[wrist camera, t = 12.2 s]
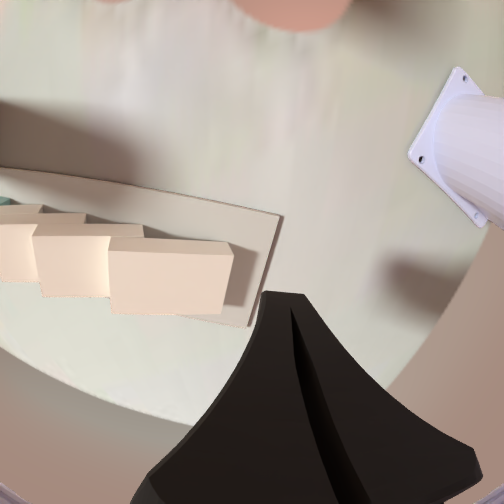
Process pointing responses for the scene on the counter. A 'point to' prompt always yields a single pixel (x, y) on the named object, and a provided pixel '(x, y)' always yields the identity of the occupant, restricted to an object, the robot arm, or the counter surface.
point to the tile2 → (76, 257)
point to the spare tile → (167, 276)
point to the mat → (160, 224)
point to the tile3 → (25, 242)
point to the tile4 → (21, 209)
